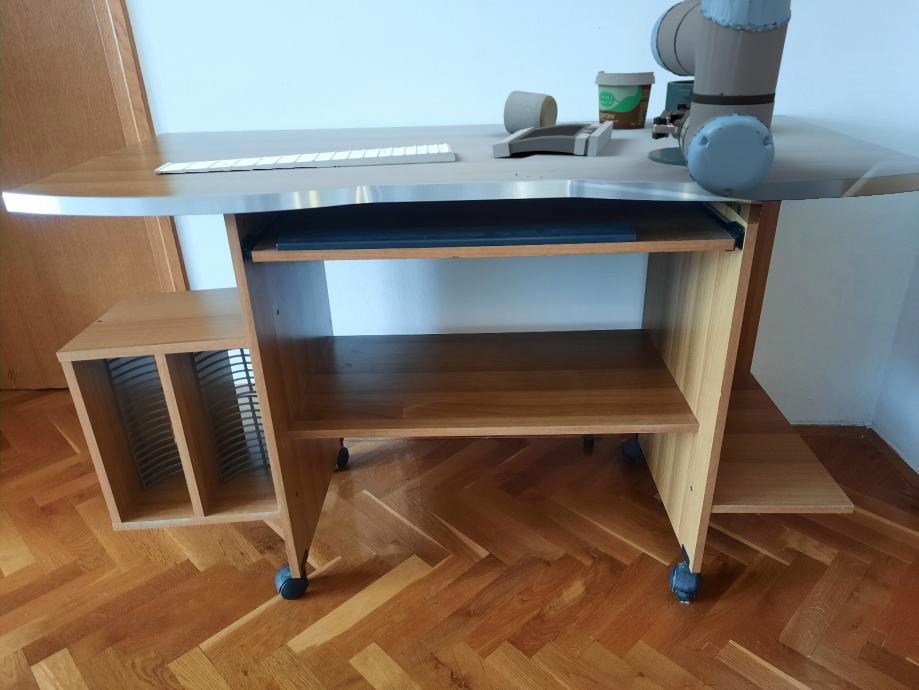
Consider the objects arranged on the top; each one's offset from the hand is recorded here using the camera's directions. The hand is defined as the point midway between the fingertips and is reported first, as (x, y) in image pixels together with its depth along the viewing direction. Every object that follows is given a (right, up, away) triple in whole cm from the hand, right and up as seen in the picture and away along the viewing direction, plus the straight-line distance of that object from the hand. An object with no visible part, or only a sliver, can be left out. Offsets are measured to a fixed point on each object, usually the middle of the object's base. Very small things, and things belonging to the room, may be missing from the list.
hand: (695, 112), depth 93 cm
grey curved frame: (-19, -2, +11) cm, 22 cm away
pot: (+9, +5, +23) cm, 25 cm away
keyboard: (-58, -6, +7) cm, 58 cm away
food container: (-4, +9, +32) cm, 34 cm away
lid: (-1, -7, -2) cm, 8 cm away
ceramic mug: (-20, +6, +28) cm, 35 cm away
